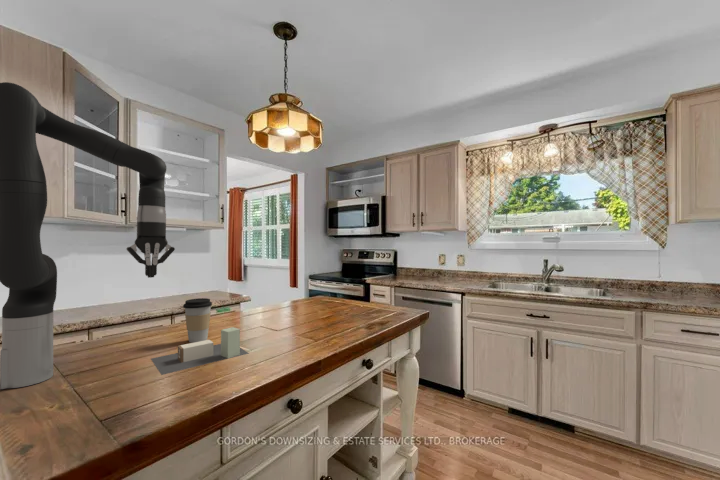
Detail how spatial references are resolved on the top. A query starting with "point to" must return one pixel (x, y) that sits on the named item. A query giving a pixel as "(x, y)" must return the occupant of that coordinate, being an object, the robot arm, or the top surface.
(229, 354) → the sage block
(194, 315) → the coffee cup
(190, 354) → the cream block
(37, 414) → the top surface
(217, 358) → the mat
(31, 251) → the robot arm
